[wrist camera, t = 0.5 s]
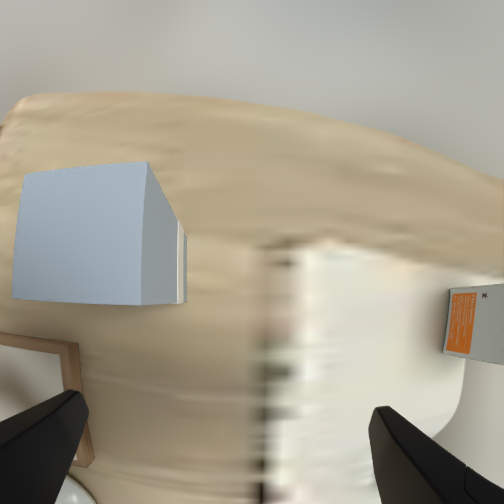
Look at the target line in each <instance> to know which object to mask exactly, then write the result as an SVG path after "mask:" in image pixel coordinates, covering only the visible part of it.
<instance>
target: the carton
mask: <svg viewBox="0 0 504 504" xmlns="http://www.w3.org/2000/svg"><path fill="white" fill-rule="evenodd" d="M12 299H23V300H36V301H50V302H67V303H86V304H110V305H154V304H180V303H184V302H187V237H186V235H185V233H184V229H183V227H182V225H181V223H180V221H179V220H177V218H176V216H175V214H174V212H173V211H172V209H171V207H170V205H169V203H168V201H167V199H166V197H165V195H164V193H163V191H162V189H161V187H160V185H159V183H158V181H157V179H156V177H155V175H154V173H153V171H152V169H151V167H150V165H149V163H148V161H147V162H130V163H116V164H104V165H93V166H83V167H74V168H65V169H57V170H50V171H42V172H36V173H29V174H25V177H24V182H23V187H22V193H21V199H20V205H19V212H18V219H17V227H16V236H15V246H14V259H13V281H12Z"/></svg>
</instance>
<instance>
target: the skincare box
mask: <svg viewBox="0 0 504 504" xmlns="http://www.w3.org/2000/svg"><path fill="white" fill-rule="evenodd" d="M443 354H447V355H451V356H457V357H462V358H467V359H472V360H477V361H483V362H488V363H494V364H500V365H504V284H494V285H484V286H472V287H461V288H451V289H450V303H449V313H448V322H447V329H446V336H445V342H444V347H443Z"/></svg>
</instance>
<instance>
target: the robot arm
mask: <svg viewBox="0 0 504 504" xmlns="http://www.w3.org/2000/svg"><path fill="white" fill-rule="evenodd" d="M88 415H89V410H88V407H87V405H86V402H85V400H84V397H83V395H82V393H81V392H80V391H77V390H73V389H68V390H66V391H64V392H62V393H60V394H58V395H56V396H54V397H52V398H50V399H48V400H45V401H43V402H41V403H39V404H37V405H35V406H33V407H31V408H29V409H27V410H24V411H22V412H20V413H18V414H16V415H14V416H12V417H9V418H7V419H5V420H3V421H1V422H0V504H55V502H56V500H57V497H58V495H59V492H60V490H61V487H62V485H63V483H64V480H65V478H66V475H67V473H68V471H69V468H70V466H71V464H72V461H73V459H74V457H75V454H76V452H77V449H78V446H79V443H80V440H81V437H82V434H83V431H84V428H85V425H86V422H87V419H88ZM368 431H369V439H370V446H371V453H372V460H373V468H374V474H375V479H376V483H377V486H378V490H379V494H380V498H381V502H382V504H504V489H503V488H501V487H499V486H497V485H496V484H494V483H492V482H490V481H489V480H487V479H486V478H484V477H483V476H481V475H480V474H478V473H477V472H475V471H474V470H473V469H471V468H470V467H468V466H467V467H466V464H464V463H463V462H462V461H460V460H459V459H457V458H456V457H455V456H453V455H452V454H451V453H449V452H448V451H447V450H445V449H444V448H443V447H441V446H440V445H439V444H438V443H436V442H435V441H434V440H432V439H431V438H430V437H428V436H427V435H426V434H424V433H423V432H422V431H421V430H419V429H418V428H417V427H415V426H414V425H413V424H411V423H410V422H409V421H408V420H406V419H405V418H404V417H403V416H401V415H400V414H399V413H397V412H396V411H395V410H394V409H392V408H391V407H390V406H380V407H376V408H375V409H374V411H373V414H372V417H371V421H370V424H369V429H368Z"/></svg>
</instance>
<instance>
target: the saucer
mask: <svg viewBox="0 0 504 504" xmlns="http://www.w3.org/2000/svg"><path fill="white" fill-rule="evenodd" d="M55 504H97V503H96V502H95V501H94V499H93V498H92V497H91V495H90V494H89V493H88V492H87V491H86V490H85V489H84V488H83V487H82V486H81V485H80V484H78V483H77V482H76V481H75V480H73V479H72V478H71V477H69V476H68V475H66V478H65V480H64V483H63V485H62V487H61V490H60V492H59V495H58V497H57V500H56V502H55Z"/></svg>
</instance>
